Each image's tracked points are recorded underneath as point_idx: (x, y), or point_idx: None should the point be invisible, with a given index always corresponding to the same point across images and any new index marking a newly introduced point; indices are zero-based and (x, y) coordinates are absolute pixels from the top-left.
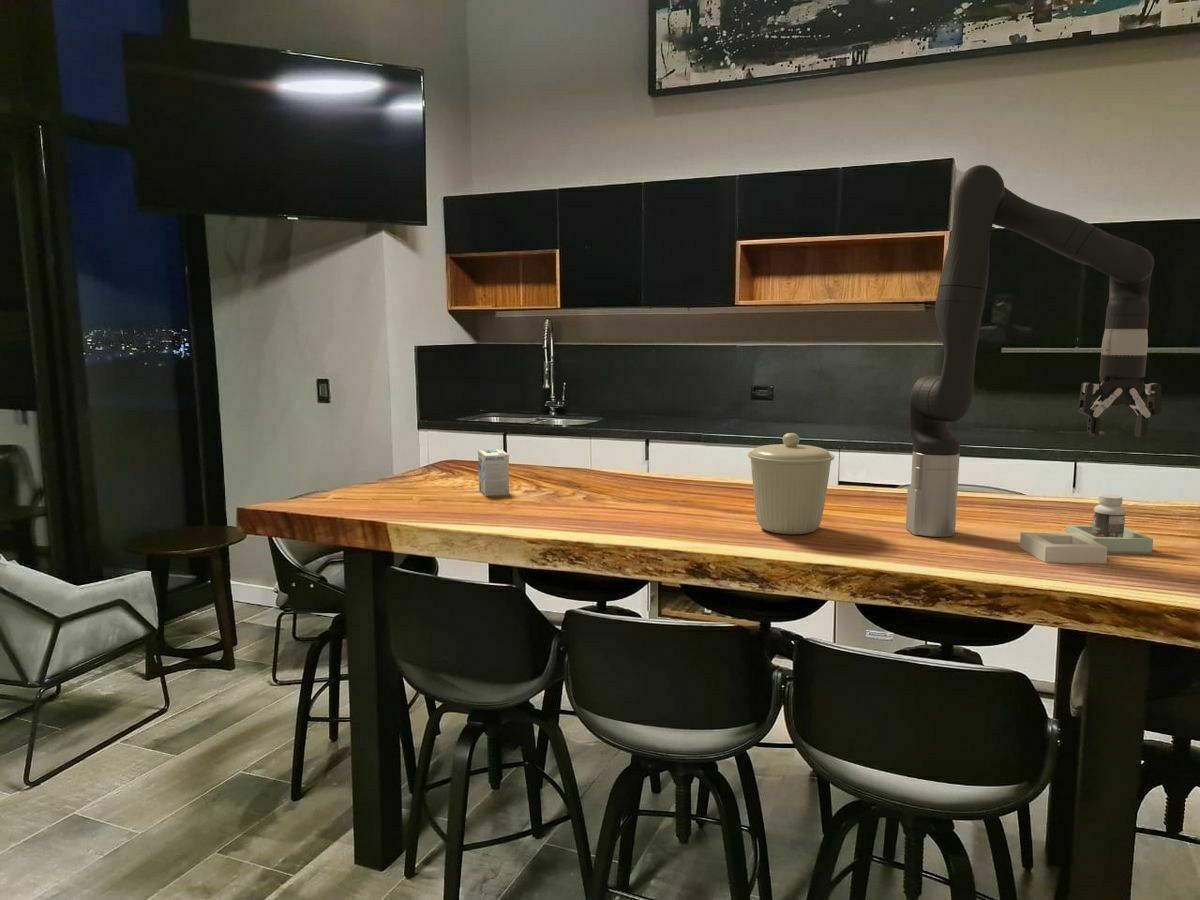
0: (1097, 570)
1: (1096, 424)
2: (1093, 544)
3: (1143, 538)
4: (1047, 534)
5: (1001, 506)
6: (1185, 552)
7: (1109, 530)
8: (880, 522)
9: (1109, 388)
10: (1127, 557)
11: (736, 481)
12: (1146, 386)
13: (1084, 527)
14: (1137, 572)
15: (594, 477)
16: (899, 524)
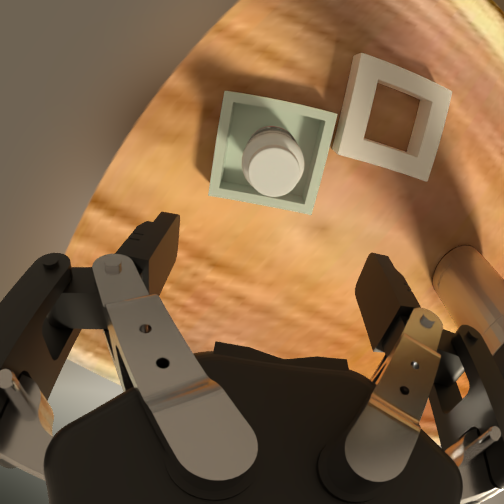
0: (393, 30)
1: (401, 283)
2: (370, 76)
3: (239, 97)
4: (397, 158)
5: None
6: (159, 101)
7: (288, 133)
8: None
9: (418, 479)
10: (287, 79)
11: None
12: (35, 454)
13: (284, 199)
14: (339, 4)
15: None
16: None
